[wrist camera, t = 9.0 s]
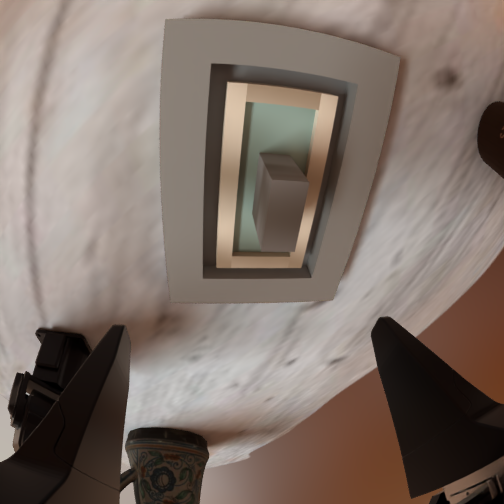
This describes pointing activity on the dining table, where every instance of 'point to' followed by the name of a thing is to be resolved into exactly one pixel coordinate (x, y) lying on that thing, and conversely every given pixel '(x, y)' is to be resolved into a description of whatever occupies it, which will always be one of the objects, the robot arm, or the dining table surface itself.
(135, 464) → the beer stein
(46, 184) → the dining table surface
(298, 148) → the picture frame
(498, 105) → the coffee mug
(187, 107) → the grey flat frame
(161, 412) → the dining table surface
